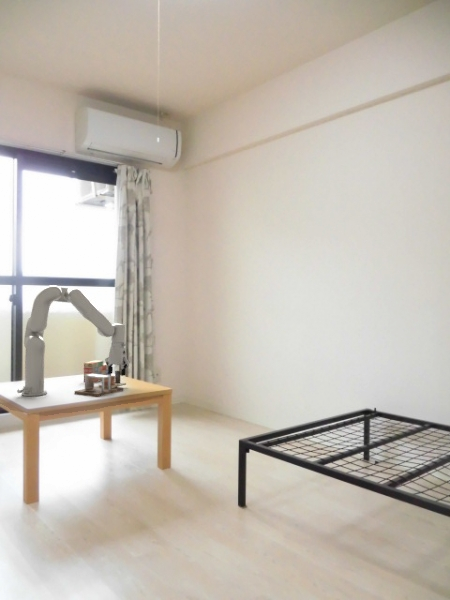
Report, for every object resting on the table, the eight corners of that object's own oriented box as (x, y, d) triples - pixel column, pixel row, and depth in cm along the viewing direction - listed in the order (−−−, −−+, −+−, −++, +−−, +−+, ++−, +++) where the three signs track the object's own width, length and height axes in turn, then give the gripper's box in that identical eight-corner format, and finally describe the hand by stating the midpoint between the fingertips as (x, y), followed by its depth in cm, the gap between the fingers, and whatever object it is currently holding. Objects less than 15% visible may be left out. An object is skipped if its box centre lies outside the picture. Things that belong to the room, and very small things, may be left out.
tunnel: (102, 391, 255) (103, 377, 255) (84, 389, 261) (84, 375, 261) (110, 390, 260) (110, 375, 260) (92, 387, 266) (92, 373, 266)
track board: (97, 397, 249) (97, 394, 249) (74, 393, 256) (74, 391, 256) (123, 390, 268) (123, 387, 268) (101, 387, 275) (101, 385, 275)
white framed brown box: (111, 388, 264) (111, 374, 264) (98, 386, 268) (98, 372, 268) (126, 384, 275) (126, 371, 275) (113, 383, 279) (114, 369, 279)
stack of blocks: (102, 377, 312) (103, 358, 312) (111, 377, 310) (111, 358, 310) (83, 382, 291) (83, 362, 291) (92, 383, 289) (92, 363, 289)
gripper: (133, 345, 275) (132, 375, 275) (110, 343, 283) (109, 372, 283) (125, 346, 268) (124, 376, 268) (101, 344, 276) (100, 373, 276)
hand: (116, 374), depth 275 cm, fingers open, 9 cm apart
